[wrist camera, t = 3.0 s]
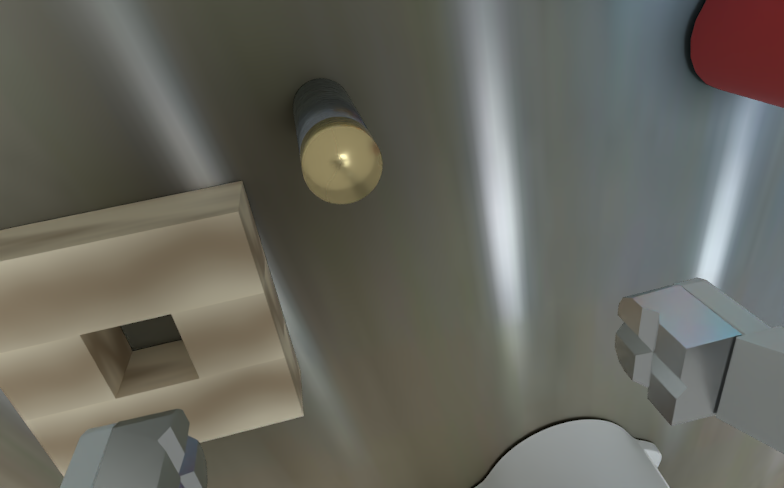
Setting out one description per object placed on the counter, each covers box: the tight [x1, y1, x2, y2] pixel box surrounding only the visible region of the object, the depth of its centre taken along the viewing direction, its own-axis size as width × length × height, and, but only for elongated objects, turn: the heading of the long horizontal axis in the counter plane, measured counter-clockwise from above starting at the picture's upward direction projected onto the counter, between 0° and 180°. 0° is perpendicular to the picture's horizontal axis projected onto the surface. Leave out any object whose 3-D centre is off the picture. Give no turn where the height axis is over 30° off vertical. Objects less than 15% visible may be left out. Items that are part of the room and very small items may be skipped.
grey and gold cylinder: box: [293, 78, 383, 204], centre depth 23 cm, size 3×3×9 cm
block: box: [0, 181, 304, 476], centre depth 29 cm, size 14×14×4 cm
